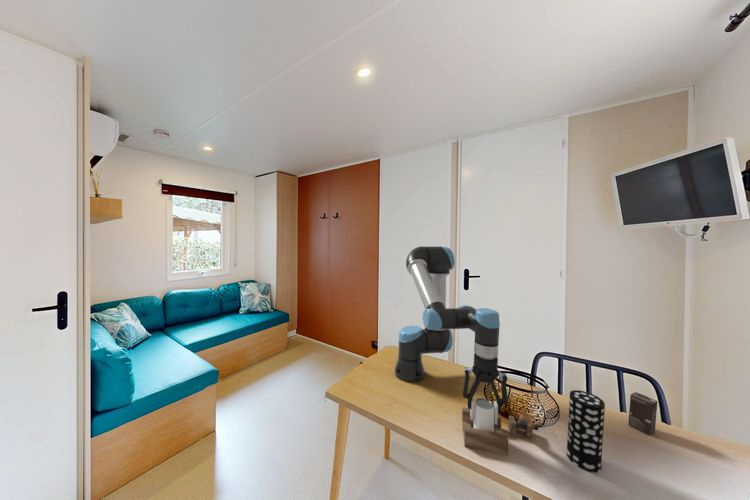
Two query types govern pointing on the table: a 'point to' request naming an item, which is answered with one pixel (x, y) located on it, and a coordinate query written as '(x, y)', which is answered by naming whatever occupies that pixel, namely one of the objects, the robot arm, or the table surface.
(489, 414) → the can
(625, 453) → the table surface
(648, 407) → the box
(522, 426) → the keeper
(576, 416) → the white-spotted black cylinder
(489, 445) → the hitch block
